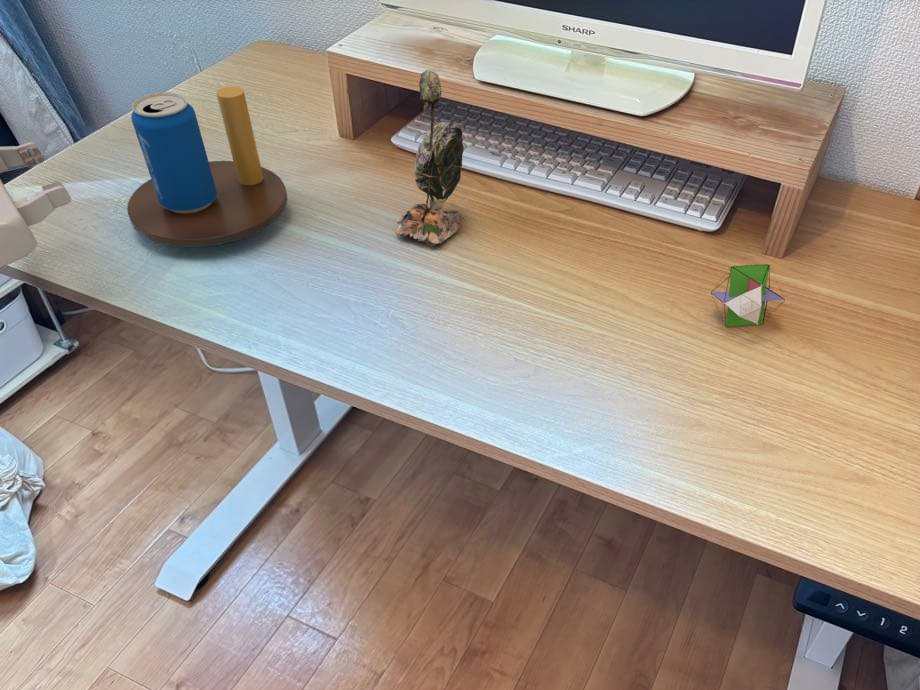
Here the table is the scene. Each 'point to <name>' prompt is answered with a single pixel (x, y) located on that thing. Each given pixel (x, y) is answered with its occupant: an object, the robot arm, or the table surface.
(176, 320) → the table surface
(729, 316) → the geometric puzzle
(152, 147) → the beverage can
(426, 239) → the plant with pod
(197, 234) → the tray
